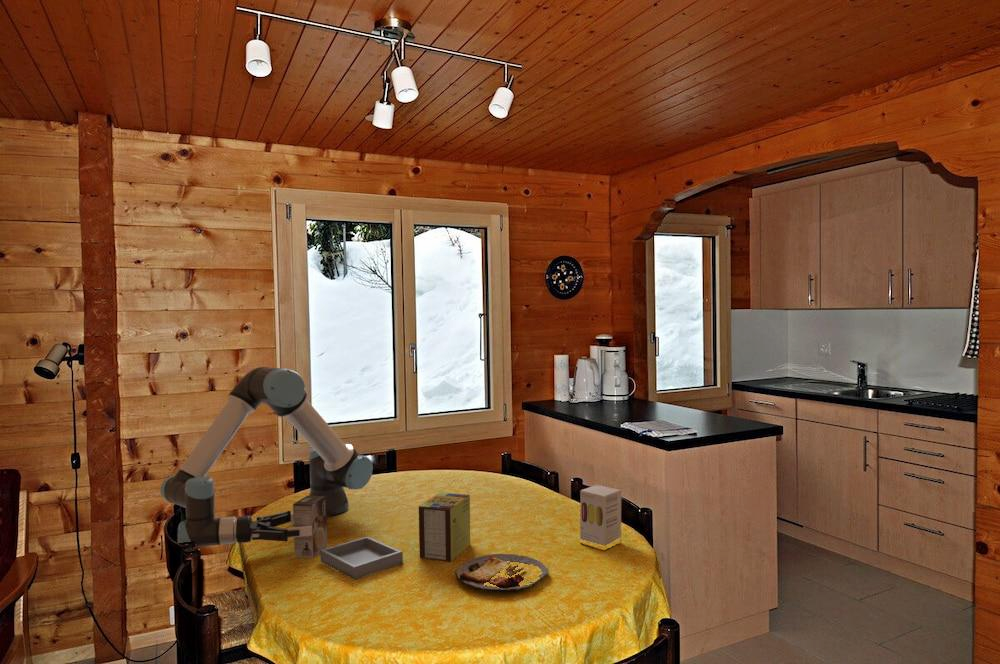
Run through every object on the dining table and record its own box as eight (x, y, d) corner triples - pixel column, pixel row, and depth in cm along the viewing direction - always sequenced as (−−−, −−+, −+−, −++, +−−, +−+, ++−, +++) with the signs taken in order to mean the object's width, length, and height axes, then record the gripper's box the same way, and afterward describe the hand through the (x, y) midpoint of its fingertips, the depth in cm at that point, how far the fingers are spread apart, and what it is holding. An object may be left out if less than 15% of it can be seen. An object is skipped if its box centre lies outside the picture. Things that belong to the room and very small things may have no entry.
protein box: (471, 544, 206) (470, 494, 205) (451, 562, 191) (450, 508, 190) (440, 540, 209) (439, 491, 208) (418, 558, 194) (417, 505, 194)
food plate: (514, 604, 163) (514, 590, 163) (438, 585, 176) (438, 571, 176) (560, 572, 184) (560, 559, 184) (490, 557, 197) (490, 545, 197)
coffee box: (308, 546, 205) (307, 494, 204) (328, 547, 204) (327, 495, 203) (293, 557, 196) (292, 503, 195) (313, 558, 195) (312, 504, 194)
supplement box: (579, 544, 204) (578, 489, 204) (596, 536, 211) (596, 483, 210) (605, 551, 198) (605, 495, 197) (622, 543, 205) (622, 489, 204)
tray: (367, 547, 203) (367, 536, 203) (402, 563, 190) (402, 551, 190) (320, 562, 192) (320, 550, 192) (354, 580, 179) (354, 567, 179)
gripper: (242, 528, 206) (313, 522, 211) (230, 558, 182) (311, 550, 187) (242, 504, 206) (313, 499, 211) (230, 531, 182) (310, 524, 187)
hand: (312, 523), depth 199 cm, fingers open, 13 cm apart
